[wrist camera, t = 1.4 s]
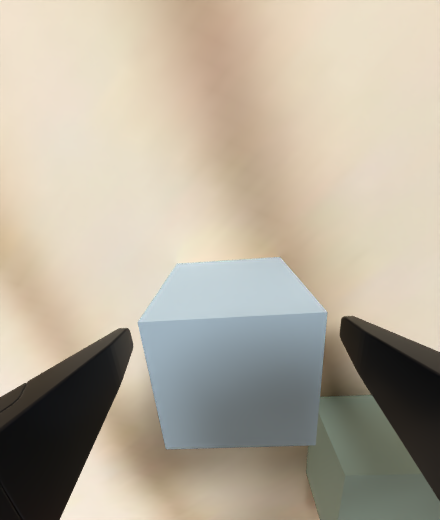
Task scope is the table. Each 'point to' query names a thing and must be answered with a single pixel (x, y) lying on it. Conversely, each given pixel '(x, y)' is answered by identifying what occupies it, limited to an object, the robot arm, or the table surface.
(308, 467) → the pale green block
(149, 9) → the table surface
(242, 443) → the cube
